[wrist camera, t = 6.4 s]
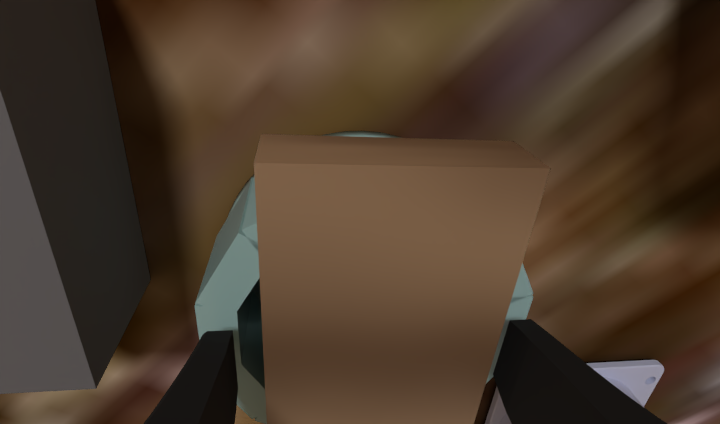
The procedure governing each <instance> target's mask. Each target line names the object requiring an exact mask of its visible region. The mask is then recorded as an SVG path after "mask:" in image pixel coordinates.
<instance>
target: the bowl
mask: <svg viewBox="0 0 720 424" xmlns="http://www.w3.org/2000/svg"><path fill="white" fill-rule="evenodd" d="M322 136H351V137H386V138H402V137H399V136H394V135H390V134H386V133H381V132H370V131H344V132H338V133H331V134H325V135H322ZM532 294H533V291H532V288H531V286H530V283H529V280H528V277H527V274H526V272H525V269H524V266H523V263H522V266H521V269H520V272H519V276H518V279H517V282H516V286H515V289H514V292H513V296H512V299H511V302H510V306H509V309H508V312H507V315H506V319H505V322H504V325H503V329H502V332H501V335H500V339H499V342H498V345H497V349H496V352H495V355H494V359H493V362H492V365H491V368H490V372H489V375H488V378H487V382H488V381H489V380H490V379H491V378H492V377H494V375H493V373H494V369H495V366H496V363H497V360H498V356H499V353H500V350H501V347H502V343H503V340H504V337H505V334H506V330H507V327H508V324H509V321H510V320H526V317H527V314H528V311H529V308H530V305H531V302H532V299H533V296H532ZM195 313H196V320H197V327H198V334H199V340H200V339H201V337H202V335H203V334H204V333H205V332H207V331H226V330H233V338H234V349H235V360H236V370H237V381H238V395H237V405H238V406H239V407H240V408H241V409H242V410H243V411H244V412H245V413H246V414H247V415H248V416H249V417H250V418H251V419H253V418H255V421H258V422H261V423H265V424H267V418H266V397H265V377H264V357H263V337H262V317H261V297H260V277H259V257H258V237H257V217H256V197H255V177H254V175H253V176H252V177H251V178H250V179H249V180H248V181H247V182H246V184H245V185H244V187H243V188H242V190H241V191H240V192H239V194H238V195H237V197H236V199H235V201H234V203H233V205H232V207H231V209H230V212H229V215H228V218H227V220H226V221H225V223H224V225H223V226H222V228H221V230H220V231H219V233H218V235H217V237H216V240H215V244H214V247H213V250H212V253H211V256H210V259H209V262H208V265H207V268H206V271H205V274H204V277H203V281H202V284H201V287H200V290H199V293H198V296H197V299H196V302H195ZM487 382H486V383H487Z"/></svg>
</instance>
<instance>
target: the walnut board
mask: <svg viewBox="0 0 720 424" xmlns="http://www.w3.org/2000/svg"><path fill="white" fill-rule="evenodd" d="M550 170H551V168H549V167H548V166H547V165H545V164H544V163H543V162H541V161H540V160H539V159H537V158H536V157H534V156H533V155H532V154H530V153H529V152H528V151H526V150H525V149H524V148H522V147H521V146H519V145H518V144H517V143H515V142H514V141H491V140H456V139H421V138H386V137H351V136H316V135H281V134H261V136H260V140H259V144H258V148H257V152H256V156H255V160H254V177H255V197H256V217H257V237H258V257H259V277H260V297H261V317H262V337H263V357H264V377H265V397H266V418H267V424H474V421H475V418H476V415H477V411H478V408H479V405H480V402H481V398H482V395H483V392H484V388H485V385H486V382H487V378H488V375H489V372H490V368H491V365H492V362H493V359H494V355H495V352H496V349H497V345H498V342H499V339H500V335H501V332H502V329H503V325H504V322H505V319H506V315H507V312H508V309H509V306H510V302H511V299H512V296H513V292H514V289H515V286H516V282H517V279H518V276H519V272H520V269H521V266H522V262H523V259H524V256H525V253H526V249H527V246H528V243H529V239H530V236H531V233H532V229H533V226H534V223H535V219H536V216H537V213H538V210H539V206H540V203H541V200H542V196H543V193H544V190H545V186H546V183H547V180H548V176H549V173H550Z"/></svg>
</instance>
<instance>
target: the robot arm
mask: <svg viewBox="0 0 720 424" xmlns="http://www.w3.org/2000/svg"><path fill="white" fill-rule="evenodd" d="M663 372H664V366H663V365H662V364H661V363H660V362H659V361H657V360H636V361H618V362H599V363H585V362H584V361H582V360H581V359H580V358H579V357H577V356H576V355H575V354H574V353H573V352H571V351H570V350H569V349H568V348H566V347H565V346H564V345H563V344H561V343H560V342H559V341H558V340H557V339H555V338H554V337H553V336H552V335H550V334H549V333H548V332H547V331H545V330H544V329H543V328H542V327H540V326H539V325H538V324H536V323H535V322H534V321H532V320H531V319H528V320H510V321H509V324H508V327H507V330H506V334H505V337H504V340H503V343H502V347H501V350H500V353H499V356H498V360H497V363H496V366H495V369H494V373H493V375H494V379H495V382H496V385H497V387H496V390H495V393H494V396H493V400H492V403H491V406H490V409H489V412H488V415H487V418H486V421H485V424H667V423H665V422H664V421H662V420H661V419H659V418H658V417H656V416H655V415H653V414H652V413H651V412H649V411H648V410H647V409H645V408H644V405H645V404H646V402H647V400H648V398H649V397H650V395H651V393H652V391H653V390H654V388H655V386H656V384H657V383H658V381H659V379H660V377H661V376H662V374H663ZM237 395H238V381H237V370H236V360H235V349H234V338H233V330H226V331H207V332H205V333H204V334H203V335H202V337H201V339H200V340H199V342H198V344H197V346H196V347H195V349H194V351H193V352H192V354H191V356H190V357H189V359H188V360H187V362H186V364H185V365H184V367H183V368H182V370H181V371H180V373H179V374H178V376H177V378H176V379H175V381H174V382H173V383H172V385H171V386H170V388H169V389H168V391H167V392H166V393H165V395H164V396H163V398H162V399H161V401H160V402H159V404H158V405H157V406H156V408H155V409H154V411H153V412H152V413H151V415H150V416H149V417H148V419H147V420H146V421H145V422H144V424H234V423H235V414H236V405H237Z"/></svg>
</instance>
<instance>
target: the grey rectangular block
mask: <svg viewBox="0 0 720 424" xmlns="http://www.w3.org/2000/svg"><path fill="white" fill-rule="evenodd" d="M150 280H151V279H150V274H149V269H148V264H147V259H146V254H145V249H144V243H143V238H142V233H141V228H140V223H139V218H138V213H137V208H136V203H135V198H134V193H133V188H132V183H131V178H130V173H129V168H128V163H127V158H126V153H125V148H124V143H123V138H122V133H121V128H120V123H119V118H118V112H117V107H116V102H115V97H114V92H113V87H112V82H111V77H110V72H109V67H108V62H107V57H106V52H105V47H104V42H103V37H102V32H101V27H100V22H99V17H98V12H97V7H96V2H95V0H0V394H5V393H24V392H42V391H61V390H80V389H96V388H97V386H98V384H99V382H100V380H101V378H102V376H103V374H104V372H105V370H106V368H107V366H108V364H109V362H110V360H111V358H112V356H113V354H114V352H115V350H116V348H117V346H118V344H119V342H120V340H121V338H122V336H123V334H124V332H125V330H126V328H127V326H128V324H129V322H130V320H131V318H132V316H133V314H134V312H135V310H136V308H137V306H138V304H139V302H140V300H141V298H142V296H143V294H144V292H145V290H146V288H147V286H148V284H149V282H150Z"/></svg>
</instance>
